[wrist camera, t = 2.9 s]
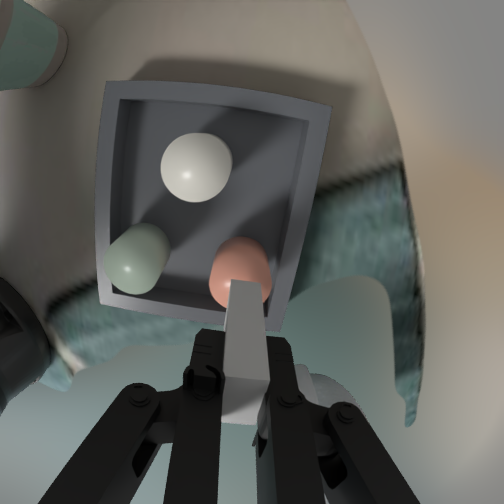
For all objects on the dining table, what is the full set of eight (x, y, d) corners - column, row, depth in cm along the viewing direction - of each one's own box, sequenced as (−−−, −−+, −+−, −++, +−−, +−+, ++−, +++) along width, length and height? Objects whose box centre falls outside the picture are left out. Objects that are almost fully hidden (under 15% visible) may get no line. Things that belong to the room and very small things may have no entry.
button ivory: (171, 186, 18) (157, 197, 15) (178, 130, 16) (164, 129, 13) (228, 194, 18) (224, 206, 15) (237, 137, 17) (235, 137, 14)
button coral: (211, 281, 20) (206, 306, 17) (217, 232, 19) (212, 252, 16) (262, 288, 21) (265, 314, 18) (272, 240, 19) (277, 261, 16)
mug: (228, 343, 26) (221, 475, 14) (348, 313, 25) (405, 433, 13) (266, 427, 31) (273, 521, 19) (354, 406, 30) (383, 496, 18)
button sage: (122, 267, 20) (105, 288, 17) (122, 219, 18) (102, 235, 15) (169, 275, 20) (158, 298, 17) (172, 226, 19) (159, 244, 16)
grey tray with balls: (113, 284, 23) (99, 303, 20) (123, 86, 17) (106, 81, 14) (276, 310, 24) (279, 331, 22) (320, 110, 18) (332, 106, 15)
